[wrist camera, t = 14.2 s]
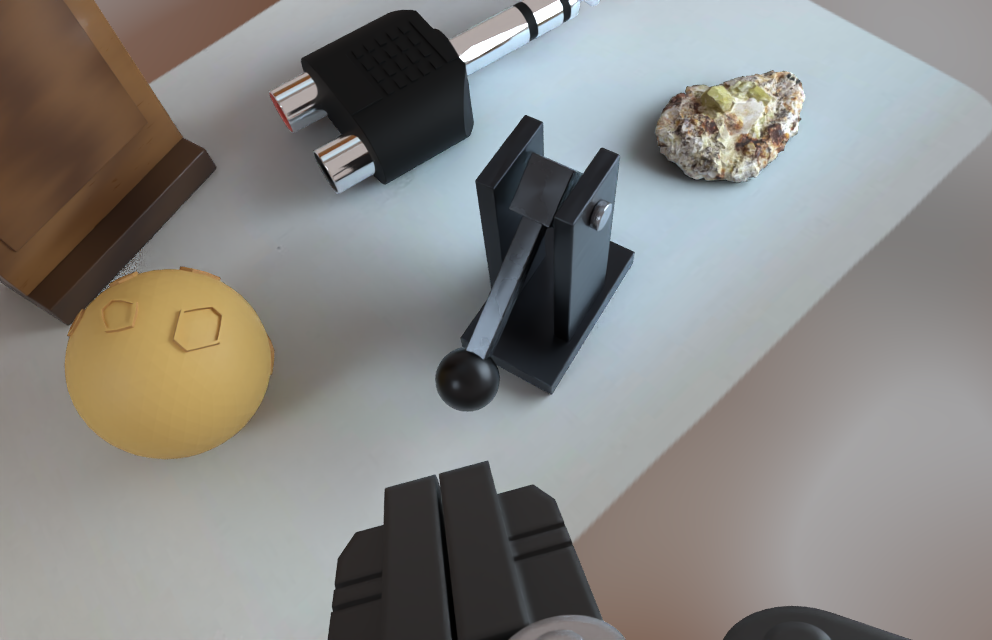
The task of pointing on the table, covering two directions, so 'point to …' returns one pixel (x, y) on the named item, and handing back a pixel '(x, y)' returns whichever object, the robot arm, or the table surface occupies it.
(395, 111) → the audio adapter
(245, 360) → the stress ball
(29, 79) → the door
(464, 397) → the lever
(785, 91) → the mineral rock
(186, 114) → the table surface
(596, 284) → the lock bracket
